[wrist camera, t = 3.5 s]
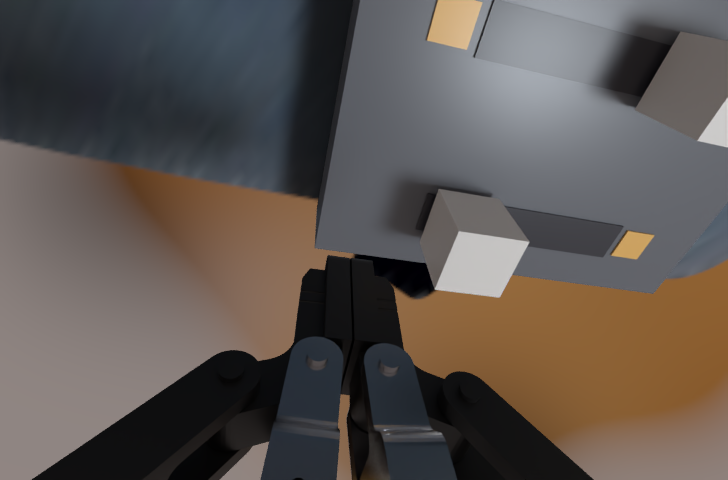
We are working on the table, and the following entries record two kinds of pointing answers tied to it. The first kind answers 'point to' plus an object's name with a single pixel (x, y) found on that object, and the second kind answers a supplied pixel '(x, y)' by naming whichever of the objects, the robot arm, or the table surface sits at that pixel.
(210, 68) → the table surface
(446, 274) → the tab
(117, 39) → the table surface
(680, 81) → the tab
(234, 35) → the table surface
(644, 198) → the switch box
